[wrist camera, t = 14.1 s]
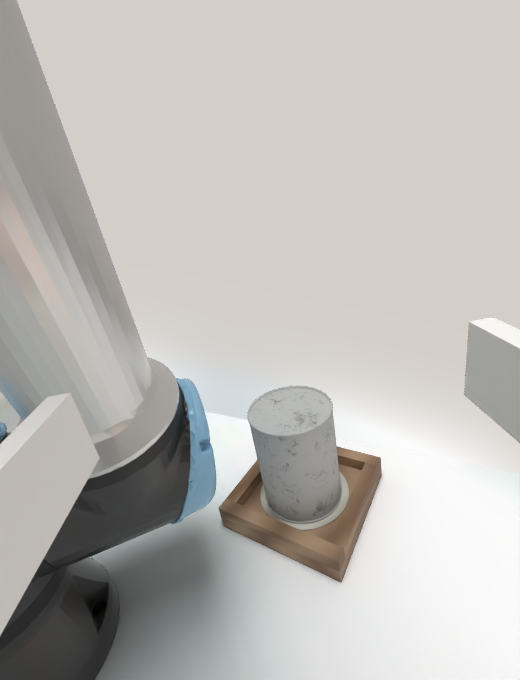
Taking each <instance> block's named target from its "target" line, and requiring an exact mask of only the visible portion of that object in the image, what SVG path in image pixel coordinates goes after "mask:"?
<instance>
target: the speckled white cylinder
mask: <svg viewBox="0 0 520 680" xmlns="http://www.w3.org/2000/svg"><path fill="white" fill-rule="evenodd" d="M248 421H249V423H250V427H251V432H252V436H253V440H254V445H255V449H256V454H257V458H258V463H259V467H260V472H261V476H262V481H263V485H264V490H265V496H266V501H267V504H268V506H269V508H270V509H271V511H272V512H273V513H274V514H275V515H276V516H277V517H279V518H281V519H283V520H285V521H287V522H291V523H294V524H309V523H314V522H317V521H320V520H323V519H324V518H326V517H327V516H329V515H330V514H331V513H332V512H333V511H335V510H336V508H337V506H338V505H339V503H340V501H341V497H342V486H341V482H340V473H339V464H338V455H337V447H336V438H335V430H334V421H333V404H332V401H331V399H330V398H329V397H328V396H327V394H325V393H324V392H322V391H320V390H318V389H315V388H312V387H307V386H288V387H282V388H278V389H274V390H272V391H269V392H267V393H265V394H263V395H262V396H260V397H259V398H257V399H256V400H255V401H254V402H253V403H252V404H251V406H250V408H249V410H248Z"/></svg>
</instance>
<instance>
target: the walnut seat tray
mask: <svg viewBox="0 0 520 680" xmlns="http://www.w3.org/2000/svg"><path fill="white" fill-rule="evenodd" d="M337 455H338V464H339V473H340V482H341V486H342V497H341V501H340V503H339V505H338V506H337V508H336V510H335V511H333V512H332V513H331V514H330V515H329V516H327V517H326V518H324V519H323V520H320V521H317V522H314V523H309V524H294V523H291V522H287V521H285V520H283V519H281V518H279V517H277V516H276V515H275V514H274V513H273V512H272V511H271V509H270V508H269V506H268V504H267V501H266V496H265V490H264V485H263V481H262V476H261V472H260V467H259V463H258V460H257V461H256V462H255V464H254V465H253V466H252V467H251V469H250V470H249V471H248V472H247V474H246V475H245V476H244V477H243V479H242V480H241V481H240V482H239V484H238V485H237V486H236V487H235V489H234V490H233V491H232V492H231V493H230V495H229V496H228V497H227V498H226V500H225V501H224V502H223V503H222V505H221V506H220V507H219V511H220V514H221V517H222V521H223V524H224V526H225V527H227V528H229V529H231V530H234V531H236V532H238V533H240V534H242V535H244V536H246V537H248V538H250V539H252V540H254V541H256V542H259V543H261V544H263V545H265V546H267V547H269V548H271V549H273V550H275V551H277V552H279V553H281V554H284V555H286V556H288V557H290V558H292V559H294V560H296V561H298V562H300V563H302V564H304V565H306V566H308V567H311V568H313V569H315V570H317V571H319V572H321V573H323V574H325V575H327V576H329V577H331V578H333V579H336V580H338V581H340V582H342V579H343V577H344V574H345V571H346V569H347V566H348V563H349V561H350V558H351V555H352V553H353V550H354V547H355V545H356V542H357V539H358V537H359V534H360V531H361V529H362V526H363V523H364V521H365V518H366V515H367V513H368V510H369V507H370V505H371V502H372V499H373V497H374V494H375V491H376V489H377V486H378V483H379V481H380V478H381V458H380V457H376V456H372V455H368V454H364V453H360V452H356V451H352V450H348V449H344V448H340V447H337Z"/></svg>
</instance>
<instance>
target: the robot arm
mask: <svg viewBox="0 0 520 680" xmlns="http://www.w3.org/2000/svg"><path fill="white" fill-rule="evenodd" d="M0 391H1V392H2V394H3V395H4V396H5V398H6V399H7V400H8V401H9V403H10V404H11V405H12V406H13V408H14V409H15V410H16V412H17V413H18V414H19V415H20V417H21V418H20V421H19V423H18V425H17V428H16V429H15V430H14V431H13V432H11V433H7V432H6V430H7V428H6V425H5V424H4V423H2V422H0V680H94V679H95V677H96V675H97V674H98V672H99V670H100V668H101V667H102V665H103V663H104V661H105V659H106V656H107V654H108V652H109V650H110V647H111V645H112V642H113V639H114V636H115V632H116V628H117V623H118V617H119V599H118V594H117V591H116V588H115V586H114V584H113V582H112V580H111V578H110V576H109V574H108V573H107V571H106V570H105V569H104V568H103V566H102V565H100V564H99V563H98V562H96V561H95V560H93V559H92V558H90V557H91V556H93V555H95V554H98V553H100V552H102V551H105V550H107V549H110V548H112V547H114V546H117V545H119V544H121V543H124V542H126V541H129V540H131V539H133V538H136V537H138V536H140V535H143V534H145V533H148V532H150V531H152V530H155V529H157V528H159V527H162V526H164V525H167V524H169V523H171V524H174V523H178V522H180V521H182V519H183V518H184V517H185V516H187V515H189V514H191V513H193V512H196V511H198V510H200V509H202V508H204V507H205V506H207V505H208V504H209V503H210V501H211V500H212V498H213V496H214V494H215V490H216V469H215V460H214V454H213V449H212V446H211V444H210V436H209V428H208V424H207V420H206V416H205V412H204V408H203V405H202V402H201V399H200V396H199V394H198V391H197V389H196V387H195V385H194V383H193V382H192V381H191V380H189V379H178V378H177V379H176V378H175V376H174V375H173V374H172V372H171V371H170V370H169V368H168V367H166V366H165V365H164V364H162V363H161V362H159V361H156V360H154V359H151V358H147V356H146V353H145V350H144V348H143V345H142V342H141V339H140V337H139V334H138V331H137V329H136V326H135V323H134V320H133V318H132V315H131V312H130V309H129V307H128V304H127V301H126V298H125V296H124V293H123V290H122V287H121V285H120V282H119V279H118V276H117V274H116V271H115V268H114V265H113V263H112V260H111V258H110V254H109V252H108V249H107V246H106V243H105V241H104V238H103V235H102V233H101V230H100V227H99V225H98V222H97V219H96V217H95V214H94V211H93V208H92V205H91V202H90V200H89V197H88V194H87V191H86V189H85V186H84V184H83V180H82V178H81V175H80V172H79V169H78V167H77V164H76V161H75V159H74V156H73V153H72V150H71V148H70V145H69V142H68V139H67V137H66V134H65V131H64V129H63V126H62V123H61V120H60V117H59V115H58V112H57V109H56V106H55V104H54V101H53V98H52V96H51V93H50V90H49V87H48V85H47V82H46V79H45V76H44V74H43V71H42V68H41V65H40V63H39V60H38V57H37V55H36V52H35V49H34V46H33V44H32V41H31V38H30V35H29V32H28V30H27V27H26V24H25V22H24V19H23V16H22V13H21V11H20V8H19V5H18V3H17V0H0ZM464 395H465V396H466V397H467V398H468V399H470V400H471V401H472V402H473V403H474V404H475V405H476V406H478V407H479V408H480V409H481V410H482V411H483V412H484V413H486V414H487V415H488V416H489V417H490V418H491V419H493V420H494V421H495V422H496V423H497V424H498V425H500V426H501V427H502V428H503V429H504V430H505V431H506V432H508V433H509V434H510V435H511V436H512V437H513V438H514V439H516V440H517V441H518V442H519V443H520V330H519V329H517V328H515V327H512V326H510V325H508V324H506V323H504V322H501V321H499V320H497V319H495V318H487V319H482V320H476V321H470V322H469V330H468V344H467V361H466V374H465V389H464Z"/></svg>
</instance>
